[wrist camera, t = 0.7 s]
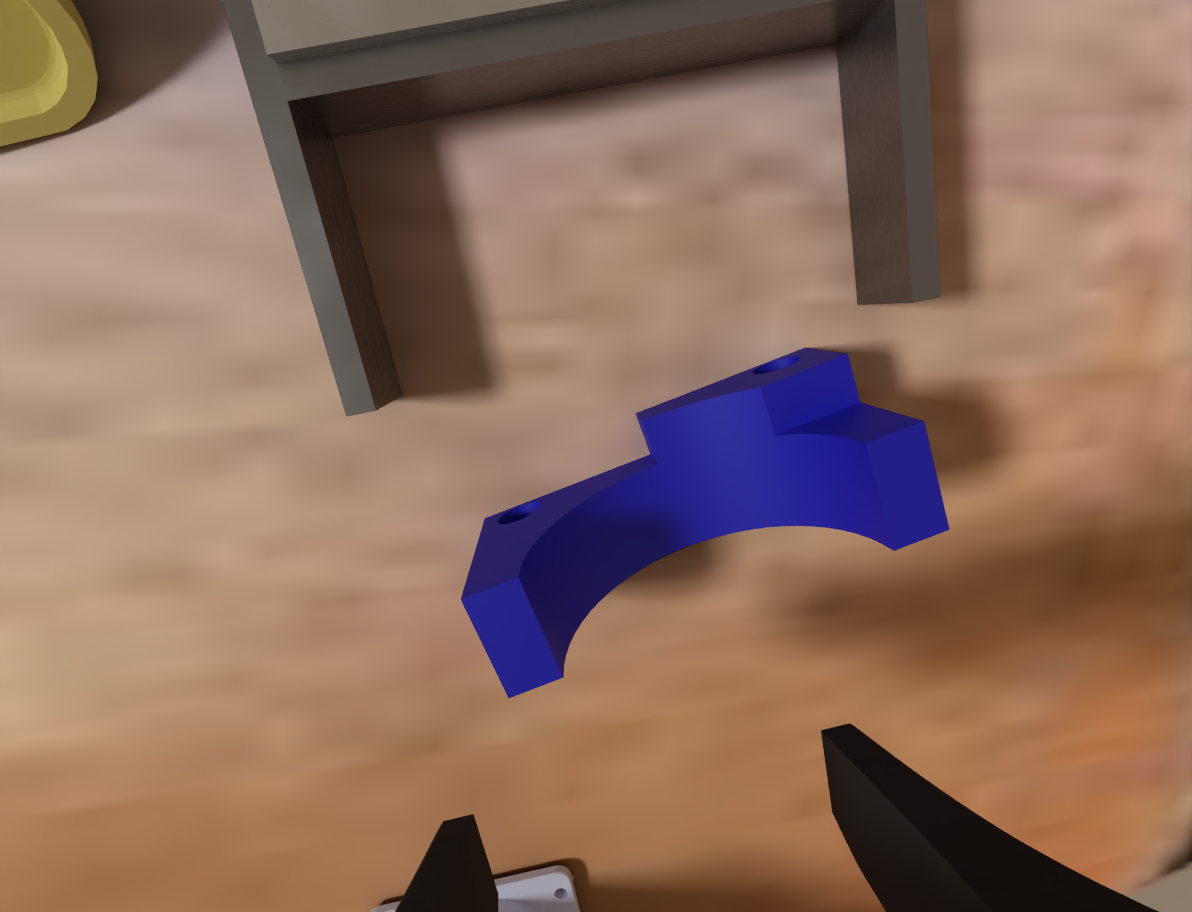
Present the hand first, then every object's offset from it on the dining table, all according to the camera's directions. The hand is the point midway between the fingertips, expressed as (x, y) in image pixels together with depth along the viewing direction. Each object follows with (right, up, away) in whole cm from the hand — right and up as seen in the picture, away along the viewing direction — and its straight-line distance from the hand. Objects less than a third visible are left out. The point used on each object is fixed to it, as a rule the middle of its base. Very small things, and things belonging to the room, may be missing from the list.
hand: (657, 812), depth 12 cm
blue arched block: (+1, +7, +9) cm, 11 cm away
